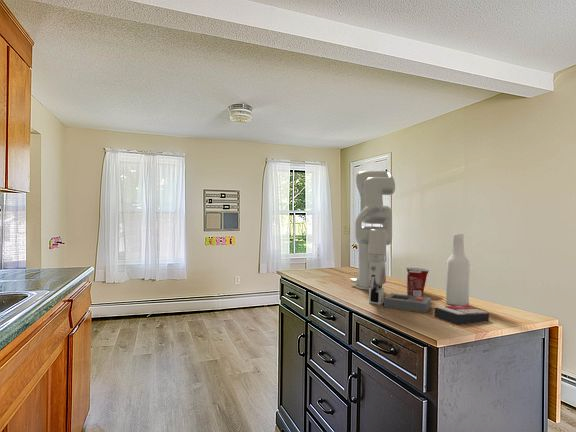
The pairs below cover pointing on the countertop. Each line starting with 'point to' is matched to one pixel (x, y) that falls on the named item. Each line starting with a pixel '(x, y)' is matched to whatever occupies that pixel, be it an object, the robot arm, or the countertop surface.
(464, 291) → the alcohol
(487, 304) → the countertop surface
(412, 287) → the soda can
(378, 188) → the robot arm
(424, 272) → the plastic cup
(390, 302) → the socket plate
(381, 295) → the plug
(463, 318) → the button control panel
